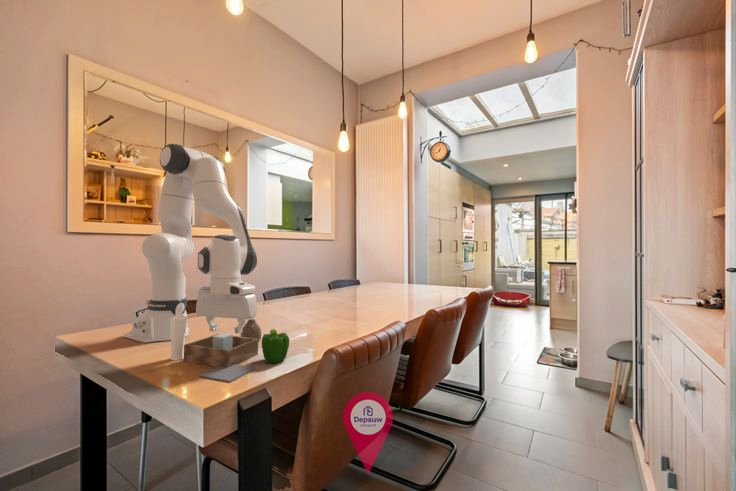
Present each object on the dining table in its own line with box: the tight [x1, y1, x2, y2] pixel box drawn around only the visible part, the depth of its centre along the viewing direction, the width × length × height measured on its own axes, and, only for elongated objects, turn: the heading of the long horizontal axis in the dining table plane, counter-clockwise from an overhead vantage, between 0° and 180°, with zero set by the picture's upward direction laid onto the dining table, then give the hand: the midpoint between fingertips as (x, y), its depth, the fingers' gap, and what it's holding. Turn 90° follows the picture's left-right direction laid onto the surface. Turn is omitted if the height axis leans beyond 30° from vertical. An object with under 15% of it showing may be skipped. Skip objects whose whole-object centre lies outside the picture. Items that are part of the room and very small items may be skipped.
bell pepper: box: [261, 328, 290, 364], centre depth 100 cm, size 8×8×10 cm
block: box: [212, 333, 234, 350], centre depth 100 cm, size 4×4×7 cm
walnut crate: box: [183, 333, 259, 368], centre depth 100 cm, size 16×14×5 cm
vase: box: [240, 318, 262, 343], centre depth 115 cm, size 7×7×9 cm
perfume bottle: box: [169, 309, 188, 362], centre depth 99 cm, size 5×4×15 cm
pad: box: [198, 364, 256, 383], centre depth 89 cm, size 10×10×1 cm
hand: (225, 331), depth 101 cm, fingers open, 8 cm apart
